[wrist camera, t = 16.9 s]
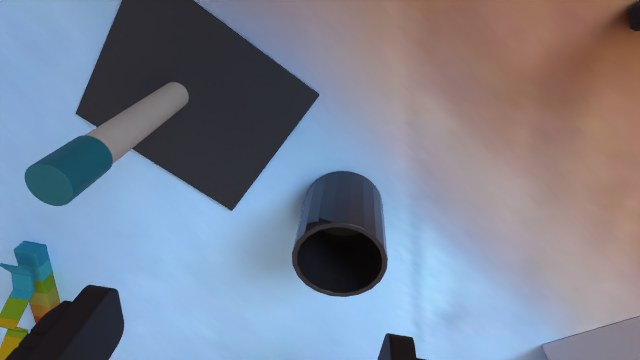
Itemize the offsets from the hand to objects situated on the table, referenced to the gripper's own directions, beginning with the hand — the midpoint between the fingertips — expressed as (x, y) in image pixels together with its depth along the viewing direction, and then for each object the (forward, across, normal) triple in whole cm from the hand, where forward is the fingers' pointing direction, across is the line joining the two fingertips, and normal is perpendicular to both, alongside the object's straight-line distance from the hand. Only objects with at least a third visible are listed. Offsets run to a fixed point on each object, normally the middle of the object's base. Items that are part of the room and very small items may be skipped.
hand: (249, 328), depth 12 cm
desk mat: (+31, +14, +6) cm, 34 cm away
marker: (+30, +15, +5) cm, 34 cm away
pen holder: (+30, -4, +15) cm, 34 cm away
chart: (+30, +37, +44) cm, 65 cm away
